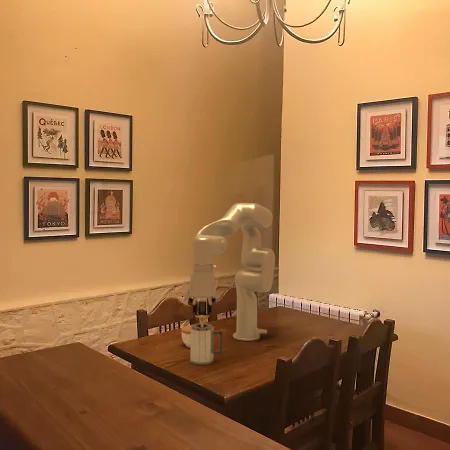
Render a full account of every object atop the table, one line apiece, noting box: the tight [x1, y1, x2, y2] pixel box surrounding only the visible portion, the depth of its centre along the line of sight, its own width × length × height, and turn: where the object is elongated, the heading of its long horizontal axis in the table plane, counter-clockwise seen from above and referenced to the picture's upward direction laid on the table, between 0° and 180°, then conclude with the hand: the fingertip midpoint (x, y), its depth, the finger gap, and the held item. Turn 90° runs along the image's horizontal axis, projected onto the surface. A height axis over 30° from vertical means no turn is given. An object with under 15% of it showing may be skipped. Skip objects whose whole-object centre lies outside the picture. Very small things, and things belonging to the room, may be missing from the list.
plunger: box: [194, 300, 210, 327], centre depth 198 cm, size 6×6×20 cm
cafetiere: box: [189, 322, 223, 366], centre depth 199 cm, size 13×9×14 cm
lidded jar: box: [180, 324, 193, 349], centre depth 220 cm, size 11×11×9 cm
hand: (201, 313), depth 198 cm, fingers open, 4 cm apart
